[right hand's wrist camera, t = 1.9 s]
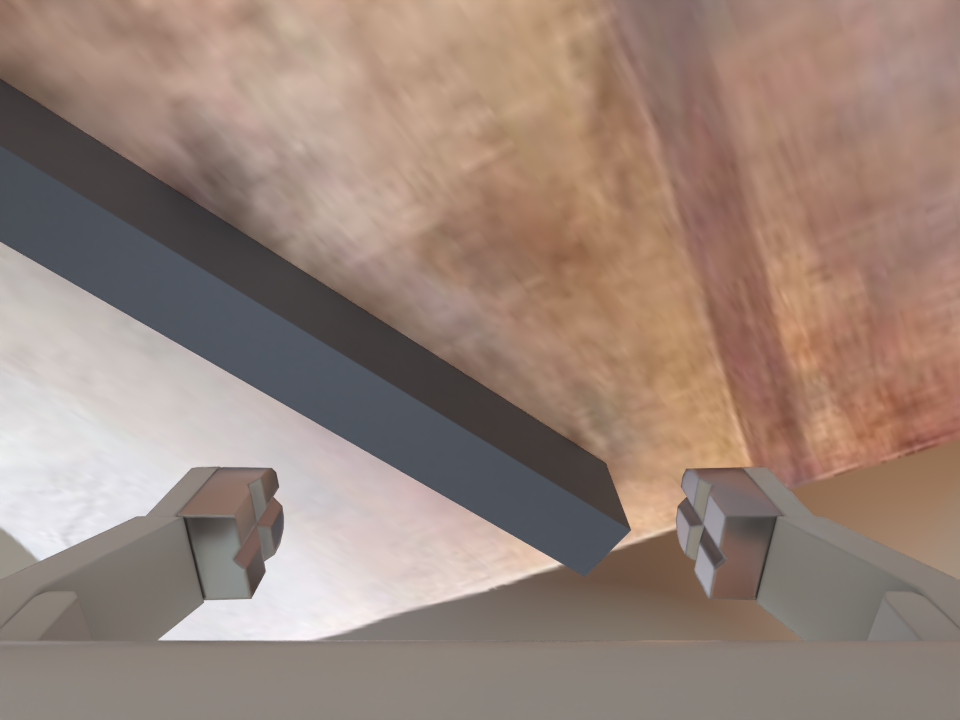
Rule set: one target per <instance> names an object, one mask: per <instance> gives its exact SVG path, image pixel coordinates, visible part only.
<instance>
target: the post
mask: <svg viewBox="0 0 960 720" xmlns="http://www.w3.org/2000/svg"><path fill="white" fill-rule="evenodd" d="M0 242H2V243H4V244H5V245H7V246H9V247H11V248H12V249H14V250H16V251H18V252H19V253H21V254H23V255H25V256H26V257H28V258H30V259H32V260H33V261H35V262H37V263H39V264H40V265H42V266H44V267H46V268H47V269H49V270H51V271H53V272H54V273H56V274H58V275H59V276H61V277H63V278H65V279H66V280H68V281H70V282H72V283H73V284H75V285H77V286H79V287H80V288H82V289H84V290H86V291H87V292H89V293H91V294H93V295H94V296H96V297H98V298H100V299H101V300H103V301H105V302H107V303H108V304H110V305H112V306H114V307H115V308H117V309H119V310H121V311H122V312H124V313H126V314H128V315H129V316H131V317H133V318H135V319H136V320H138V321H140V322H141V323H143V324H145V325H147V326H148V327H150V328H152V329H154V330H155V331H157V332H159V333H161V334H162V335H164V336H166V337H168V338H169V339H171V340H173V341H175V342H176V343H178V344H180V345H182V346H183V347H185V348H187V349H189V350H190V351H192V352H194V353H196V354H197V355H199V356H201V357H203V358H204V359H206V360H208V361H210V362H211V363H213V364H215V365H217V366H218V367H220V368H222V369H224V370H225V371H227V372H229V373H230V374H232V375H234V376H236V377H237V378H239V379H241V380H243V381H244V382H246V383H248V384H250V385H251V386H253V387H255V388H257V389H258V390H260V391H262V392H264V393H265V394H267V395H269V396H271V397H272V398H274V399H276V400H278V401H279V402H281V403H283V404H285V405H286V406H288V407H290V408H292V409H293V410H295V411H297V412H299V413H300V414H302V415H304V416H306V417H307V418H309V419H311V420H312V421H314V422H316V423H318V424H319V425H321V426H323V427H325V428H326V429H328V430H330V431H332V432H333V433H335V434H337V435H339V436H340V437H342V438H344V439H346V440H347V441H349V442H351V443H353V444H354V445H356V446H358V447H360V448H361V449H363V450H365V451H367V452H368V453H370V454H372V455H374V456H375V457H377V458H379V459H381V460H382V461H384V462H386V463H388V464H389V465H391V466H393V467H394V468H396V469H398V470H400V471H401V472H403V473H405V474H407V475H408V476H410V477H412V478H414V479H415V480H417V481H419V482H421V483H422V484H424V485H426V486H428V487H429V488H431V489H433V490H435V491H436V492H438V493H440V494H442V495H443V496H445V497H447V498H449V499H450V500H452V501H454V502H456V503H457V504H459V505H461V506H463V507H464V508H466V509H468V510H470V511H471V512H473V513H475V514H476V515H478V516H480V517H482V518H483V519H485V520H487V521H489V522H490V523H492V524H494V525H496V526H497V527H499V528H501V529H503V530H504V531H506V532H508V533H510V534H511V535H513V536H515V537H517V538H518V539H520V540H522V541H524V542H525V543H527V544H529V545H531V546H532V547H534V548H536V549H538V550H539V551H541V552H543V553H545V554H546V555H548V556H550V557H552V558H553V559H555V560H557V561H558V562H560V563H562V564H564V565H565V566H567V567H569V568H571V569H572V570H574V571H576V572H578V573H579V574H581V575H583V576H586V575H587V574H588V573H589V572H590V571H591V570H592V569H593V568H594V567H595V566H596V565H597V564H598V563H599V562H600V561H601V560H602V559H603V558H604V557H605V556H606V555H607V554H608V553H609V552H610V551H611V550H612V549H613V548H614V547H615V546H616V545H617V544H618V543H619V542H620V541H621V540H622V539H623V538H624V537H625V536H626V535H627V534H628V533H629V532H630V531H631V529H630V526H629V523H628V521H627V518H626V515H625V513H624V510H623V508H622V505H621V502H620V500H619V497H618V494H617V492H616V489H615V486H614V484H613V481H612V478H611V476H610V473H609V470H608V468H607V465H606V463H604V462H603V461H601V460H599V459H598V458H596V457H595V456H593V455H592V454H590V453H588V452H587V451H585V450H584V449H582V448H581V447H579V446H577V445H576V444H574V443H573V442H571V441H569V440H568V439H566V438H565V437H563V436H562V435H560V434H558V433H557V432H555V431H554V430H552V429H551V428H549V427H547V426H546V425H544V424H543V423H541V422H540V421H538V420H536V419H535V418H533V417H532V416H530V415H529V414H527V413H525V412H524V411H522V410H521V409H519V408H518V407H516V406H514V405H513V404H511V403H510V402H508V401H507V400H505V399H503V398H502V397H500V396H499V395H497V394H495V393H494V392H492V391H491V390H489V389H488V388H486V387H484V386H483V385H481V384H480V383H478V382H477V381H475V380H473V379H472V378H470V377H469V376H467V375H466V374H464V373H462V372H461V371H459V370H458V369H456V368H455V367H453V366H451V365H450V364H448V363H447V362H445V361H444V360H442V359H440V358H439V357H437V356H436V355H434V354H432V353H431V352H429V351H428V350H426V349H425V348H423V347H421V346H420V345H418V344H417V343H415V342H414V341H412V340H410V339H409V338H407V337H406V336H404V335H403V334H401V333H399V332H398V331H396V330H395V329H393V328H392V327H390V326H388V325H387V324H385V323H384V322H382V321H381V320H379V319H377V318H376V317H374V316H373V315H371V314H370V313H368V312H366V311H365V310H363V309H362V308H360V307H358V306H357V305H355V304H354V303H352V302H351V301H349V300H347V299H346V298H344V297H343V296H341V295H340V294H338V293H336V292H335V291H333V290H332V289H330V288H329V287H327V286H325V285H324V284H322V283H321V282H319V281H318V280H316V279H314V278H313V277H311V276H310V275H308V274H307V273H305V272H303V271H302V270H300V269H299V268H297V267H295V266H294V265H292V264H291V263H289V262H288V261H286V260H284V259H283V258H281V257H280V256H278V255H277V254H275V253H273V252H272V251H270V250H269V249H267V248H266V247H264V246H262V245H261V244H259V243H258V242H256V241H255V240H253V239H251V238H250V237H248V236H247V235H245V234H244V233H242V232H240V231H239V230H237V229H236V228H234V227H233V226H231V225H229V224H228V223H226V222H225V221H223V220H221V219H220V218H218V217H217V216H215V215H214V214H212V213H210V212H209V211H207V210H206V209H204V208H203V207H201V206H199V205H198V204H196V203H195V202H193V201H192V200H190V199H188V198H187V197H185V196H184V195H182V194H181V193H179V192H177V191H176V190H174V189H173V188H171V187H170V186H168V185H166V184H165V183H163V182H162V181H160V180H158V179H157V178H155V177H154V176H152V175H151V174H149V173H147V172H146V171H144V170H143V169H141V168H140V167H138V166H136V165H135V164H133V163H132V162H130V161H129V160H127V159H125V158H124V157H122V156H121V155H119V154H118V153H116V152H114V151H113V150H111V149H110V148H108V147H107V146H105V145H103V144H102V143H100V142H99V141H97V140H96V139H94V138H92V137H91V136H89V135H88V134H86V133H84V132H83V131H81V130H80V129H78V128H77V127H75V126H73V125H72V124H70V123H69V122H67V121H66V120H64V119H62V118H61V117H59V116H58V115H56V114H55V113H53V112H51V111H50V110H48V109H47V108H45V107H44V106H42V105H40V104H39V103H37V102H36V101H34V100H33V99H31V98H29V97H28V96H26V95H25V94H23V93H21V92H20V91H18V90H17V89H15V88H14V87H12V86H10V85H9V84H7V83H6V82H4V81H3V80H1V79H0Z"/></svg>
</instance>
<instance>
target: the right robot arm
mask: <svg viewBox="0 0 960 720" xmlns="http://www.w3.org/2000/svg"><path fill="white" fill-rule="evenodd" d="M278 488H279V484H278V479H277V474H276V472H275V471H274V470H273V469H272V468H248V467H222V468H221V467H196V468H192V469H190V471H189V472H188V473H187V474H186V475H185V476H184V477H183V478H182V479H181V480H180V481H179V482H178V483H177V484H176V485H175V486H174V487H173V488H172V489H171V490H170V491H169V492H168V493H167V494H166V495H165V497H164V498H163V499H162V500H161V501H160V502H159V503H158V504H157V505H156V506H155V507H154V508H153V509H152V510H151V511H150V512H149V513H148V514H147V515H146V516H140V517H135V518H133V519H130V520H128V521H126V522H124V523H122V524H120V525H117V526H115V527H113V528H111V529H109V530H107V531H105V532H102V533H100V534H98V535H96V536H94V537H92V538H89V539H87V540H85V541H83V542H81V543H79V544H77V545H74V546H72V547H70V548H68V549H66V550H64V551H61V552H59V553H57V554H55V555H53V556H51V557H49V558H46V559H44V560H42V561H40V562H38V563H36V564H33V565H31V566H29V567H27V568H25V569H23V570H21V571H19V572H16V573H14V574H12V575H10V576H8V577H5V578H3V579H1V580H0V720H960V580H958V579H956V578H954V577H952V576H950V575H948V574H946V573H943V572H941V571H939V570H937V569H935V568H933V567H931V566H928V565H926V564H924V563H922V562H920V561H918V560H915V559H913V558H911V557H909V556H907V555H905V554H903V553H900V552H898V551H896V550H894V549H892V548H890V547H888V546H885V545H883V544H881V543H879V542H877V541H875V540H873V539H870V538H868V537H866V536H864V535H862V534H860V533H857V532H855V531H853V530H851V529H849V528H847V527H845V526H842V525H840V524H838V523H836V522H834V521H832V520H830V519H827V518H825V517H820V516H814V515H813V514H812V513H811V512H810V511H809V510H808V509H807V508H806V507H805V506H804V505H803V504H802V503H801V502H800V501H799V500H798V499H797V498H796V496H795V495H794V494H793V493H792V492H791V491H790V490H789V489H788V488H787V487H786V486H785V485H784V484H783V483H782V482H781V481H780V480H779V479H778V478H777V477H776V476H775V475H774V474H773V472H772V471H771V470H770V469H768V468H765V467H763V466H762V467H737V468H701V469H686V470H685V472H684V475H683V478H682V483H681V488H682V490H683V491H684V493H685V495H686V496H687V497H686V498H685V499H684V500H683V501H682V502H681V503H680V504H679V505H678V508H677V516H676V526H677V535H678V538H679V542H680V545H681V547H682V549H683V551H684V553H685V555H687V556H688V557H690V558H691V559H693V560H694V561H696V565H695V570H694V572H695V574H696V576H697V578H698V579H699V581H700V583H701V585H702V587H703V589H704V591H705V592H706V594H707V596H708V598H709V599H731V600H756V603H757V604H759V605H760V606H761V607H762V608H764V609H765V610H766V611H767V612H769V613H770V614H771V615H772V616H774V617H775V618H776V619H777V620H779V621H780V622H781V623H782V624H784V625H785V626H786V627H787V628H788V629H790V630H791V631H792V632H794V633H795V634H796V635H797V636H798V637H800V638H801V639H802V640H803V641H157V640H158V639H159V638H161V637H162V636H163V635H164V634H165V633H167V632H168V631H169V630H170V629H172V628H173V627H174V626H175V625H177V624H178V623H179V622H180V621H182V620H183V619H184V618H185V617H187V616H188V615H189V614H190V613H192V612H193V611H194V610H195V609H197V608H198V607H199V606H200V605H202V604H203V603H204V600H228V599H251V598H252V596H253V595H254V593H255V591H256V589H257V587H258V585H259V583H260V581H261V580H262V578H263V576H264V574H265V572H266V570H265V564H264V561H266V560H267V559H269V558H270V557H272V556H273V555H275V553H276V551H277V549H278V547H279V545H280V542H281V538H282V534H283V529H284V515H283V508H282V505H281V504H280V503H279V502H278V501H277V500H276V499H275V498H274V497H273V496H274V495H275V493H276V491H277V490H278Z"/></svg>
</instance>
